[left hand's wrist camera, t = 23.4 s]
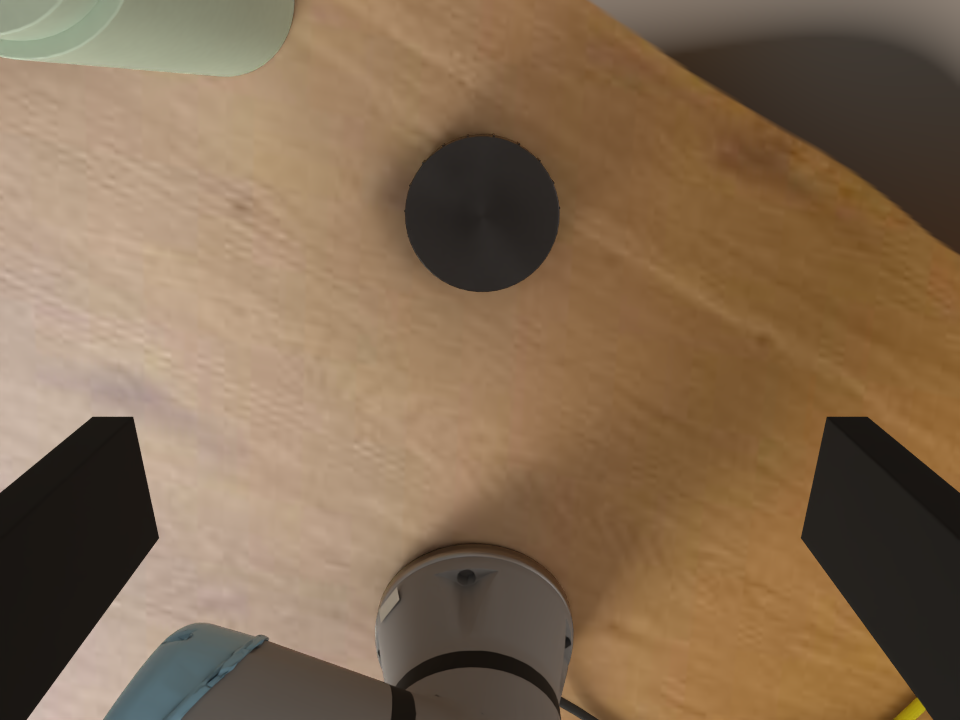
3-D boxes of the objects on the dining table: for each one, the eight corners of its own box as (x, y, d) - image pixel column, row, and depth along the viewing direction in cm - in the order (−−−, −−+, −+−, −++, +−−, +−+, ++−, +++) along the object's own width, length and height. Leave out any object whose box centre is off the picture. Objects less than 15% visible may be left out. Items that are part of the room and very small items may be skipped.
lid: (463, 311, 43) (462, 321, 41) (376, 191, 40) (371, 196, 39) (584, 232, 41) (589, 238, 39) (502, 100, 38) (503, 101, 37)
